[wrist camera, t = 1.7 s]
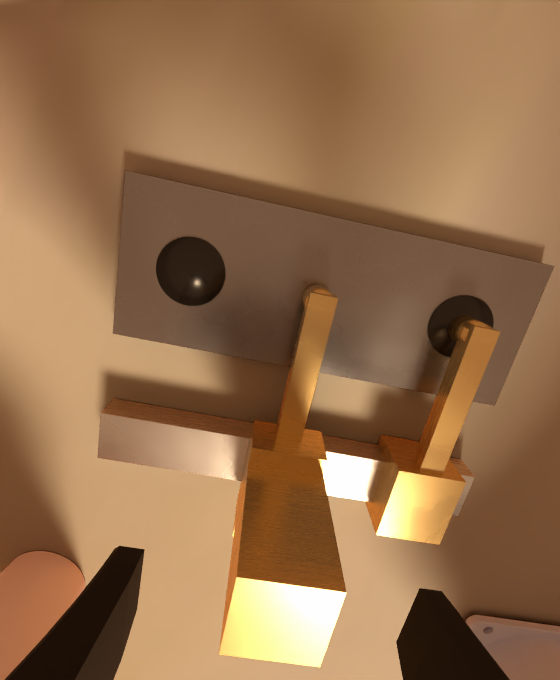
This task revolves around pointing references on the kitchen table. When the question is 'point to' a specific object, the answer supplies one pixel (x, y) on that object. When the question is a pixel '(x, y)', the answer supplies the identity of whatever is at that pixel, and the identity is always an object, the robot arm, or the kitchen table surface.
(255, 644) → the orange block with stem
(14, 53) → the kitchen table surface
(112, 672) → the robot arm
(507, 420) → the kitchen table surface
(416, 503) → the dividers bar
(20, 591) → the smoothie
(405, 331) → the flange plate
